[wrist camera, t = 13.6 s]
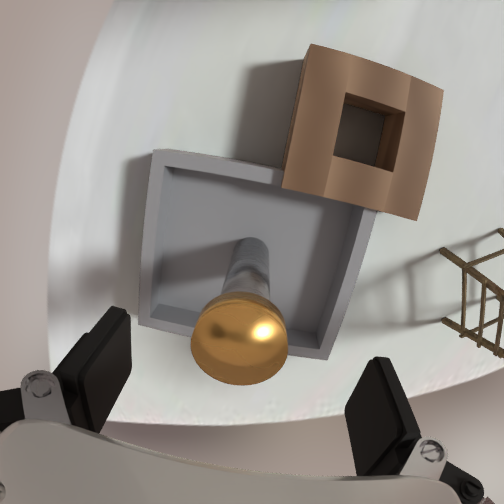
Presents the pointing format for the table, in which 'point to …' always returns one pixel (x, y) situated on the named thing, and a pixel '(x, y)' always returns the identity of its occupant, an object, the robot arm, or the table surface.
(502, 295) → the miniature windmill
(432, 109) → the socket block
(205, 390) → the table surface
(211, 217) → the tray
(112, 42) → the table surface
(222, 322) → the pin
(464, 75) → the table surface
